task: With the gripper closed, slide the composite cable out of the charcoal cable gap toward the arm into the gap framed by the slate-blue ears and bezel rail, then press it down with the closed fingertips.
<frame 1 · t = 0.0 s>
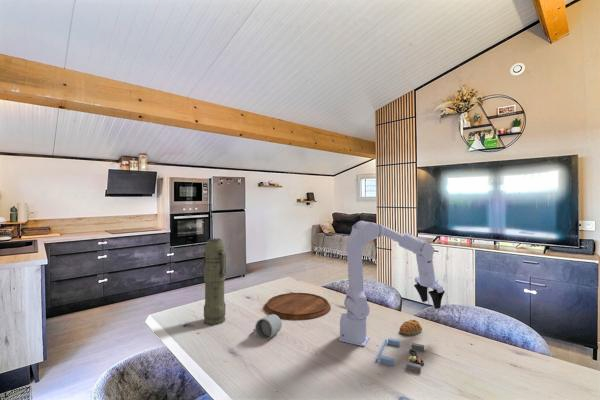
hand: (431, 304, 116), 11 cm above the table, tool pointing down, fingers open, 7 cm apart
cutting board: (297, 308, 143), on the table
cable duct: (403, 356, 98), on the table
pastry: (410, 332, 116), on the table
composite cable: (415, 360, 96), on the table
thermos: (214, 321, 126), on the table
ceramic mug: (265, 335, 113), on the table
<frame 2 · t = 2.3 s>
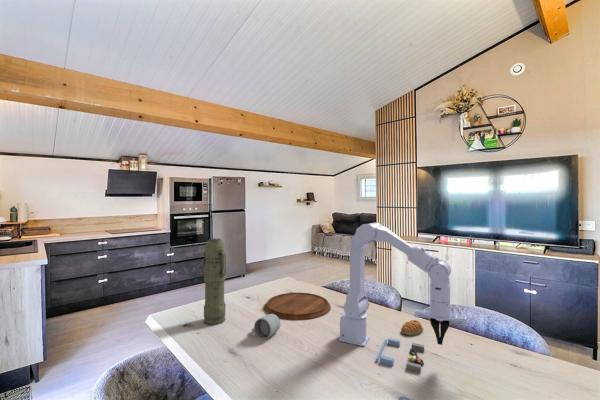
hand: (439, 343, 93), 7 cm above the table, tool pointing down, fingers closed
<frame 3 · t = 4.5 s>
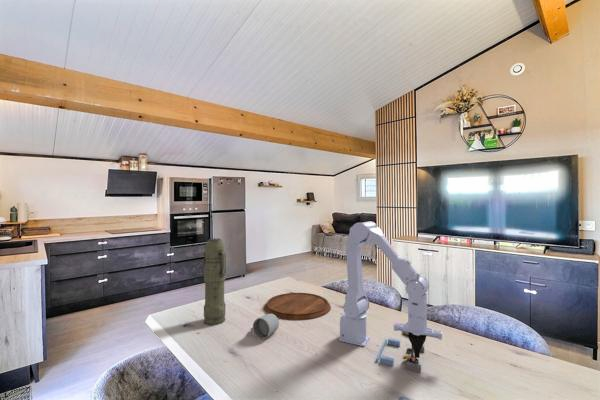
hand: (417, 356, 96), 1 cm above the table, tool pointing down, fingers closed
composite cable: (411, 359, 97), on the table, touching gripper
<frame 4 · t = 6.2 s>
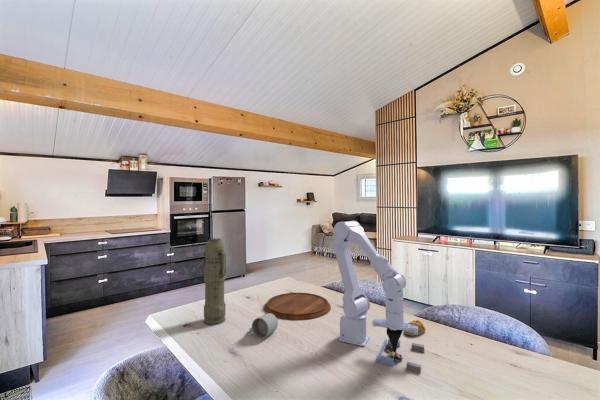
hand: (394, 350, 99), 1 cm above the table, tool pointing down, fingers closed, pressing on composite cable
composite cable: (393, 355, 98), on the table, touching cable duct, gripper
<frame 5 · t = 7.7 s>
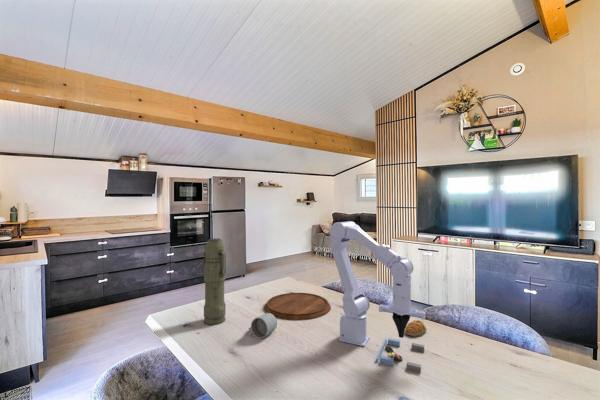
hand: (401, 336, 98), 6 cm above the table, tool pointing down, fingers closed
composite cable: (393, 356, 98), on the table
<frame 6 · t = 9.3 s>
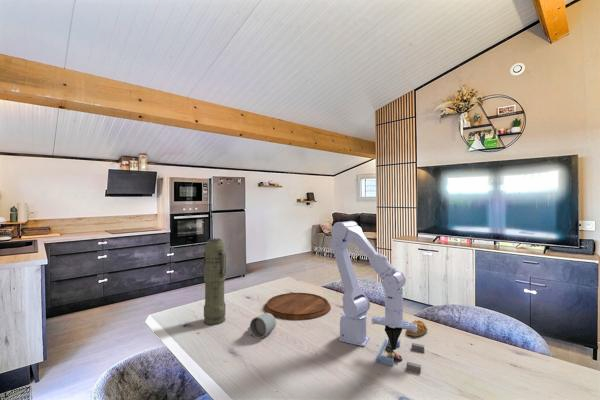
hand: (393, 348, 99), 2 cm above the table, tool pointing down, fingers closed
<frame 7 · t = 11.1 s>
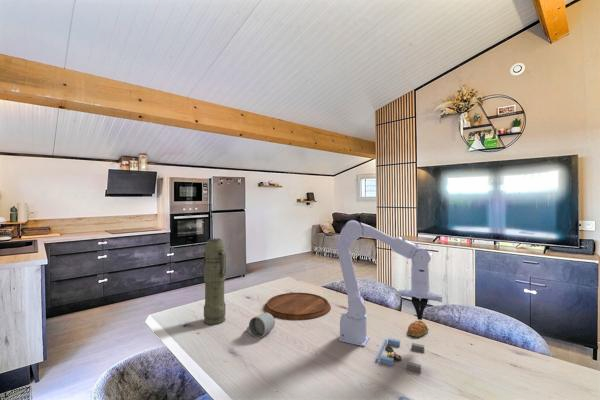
hand: (419, 318, 105), 9 cm above the table, tool pointing down, fingers closed
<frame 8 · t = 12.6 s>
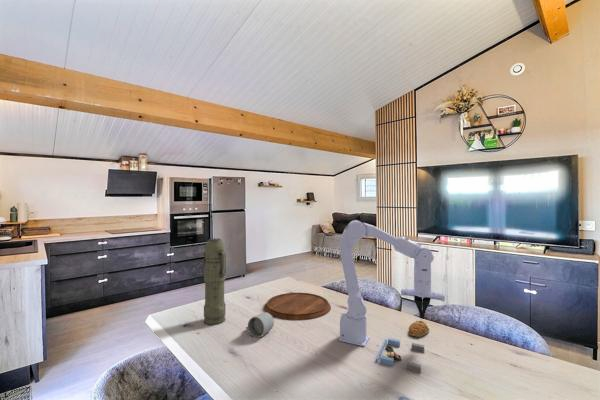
hand: (422, 317, 106), 9 cm above the table, tool pointing down, fingers closed
at the end: composite cable 1.0 cm from the target spot on the cable duct, point -0.6 cm above the cable duct's base; the gripper is holding nothing; composite cable tilted 0° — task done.
